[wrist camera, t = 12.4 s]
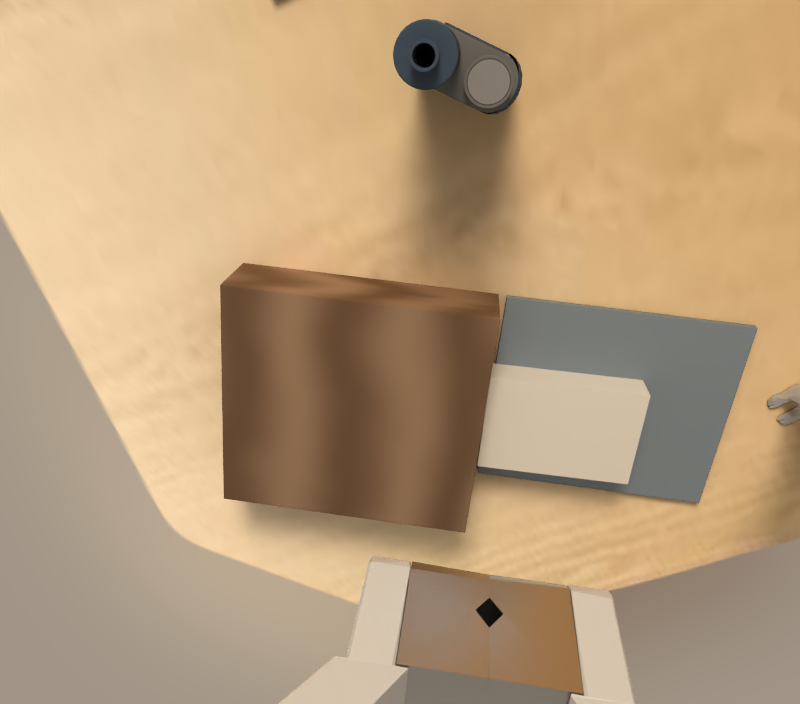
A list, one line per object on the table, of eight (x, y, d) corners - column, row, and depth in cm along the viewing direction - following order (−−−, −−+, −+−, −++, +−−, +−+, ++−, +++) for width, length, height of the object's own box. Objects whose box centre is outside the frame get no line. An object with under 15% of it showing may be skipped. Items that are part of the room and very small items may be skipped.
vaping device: (429, 13, 34) (406, 1, 23) (523, 61, 35) (544, 69, 24) (407, 65, 35) (376, 75, 24) (499, 110, 36) (509, 140, 25)
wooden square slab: (498, 294, 40) (500, 319, 36) (466, 493, 46) (465, 532, 42) (243, 263, 41) (220, 284, 37) (243, 462, 46) (224, 498, 43)
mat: (754, 325, 39) (757, 328, 39) (697, 499, 44) (698, 503, 44) (506, 295, 40) (507, 297, 39) (477, 469, 45) (477, 472, 44)
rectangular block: (642, 380, 41) (650, 396, 39) (621, 465, 43) (627, 484, 41) (489, 362, 41) (490, 377, 39) (477, 448, 44) (477, 466, 42)
